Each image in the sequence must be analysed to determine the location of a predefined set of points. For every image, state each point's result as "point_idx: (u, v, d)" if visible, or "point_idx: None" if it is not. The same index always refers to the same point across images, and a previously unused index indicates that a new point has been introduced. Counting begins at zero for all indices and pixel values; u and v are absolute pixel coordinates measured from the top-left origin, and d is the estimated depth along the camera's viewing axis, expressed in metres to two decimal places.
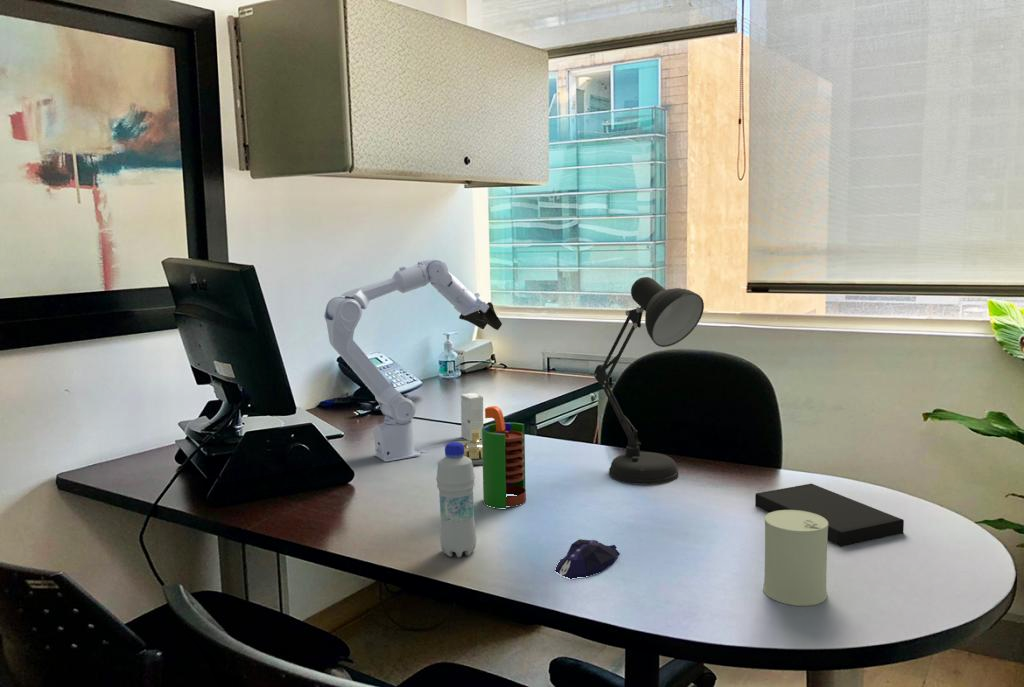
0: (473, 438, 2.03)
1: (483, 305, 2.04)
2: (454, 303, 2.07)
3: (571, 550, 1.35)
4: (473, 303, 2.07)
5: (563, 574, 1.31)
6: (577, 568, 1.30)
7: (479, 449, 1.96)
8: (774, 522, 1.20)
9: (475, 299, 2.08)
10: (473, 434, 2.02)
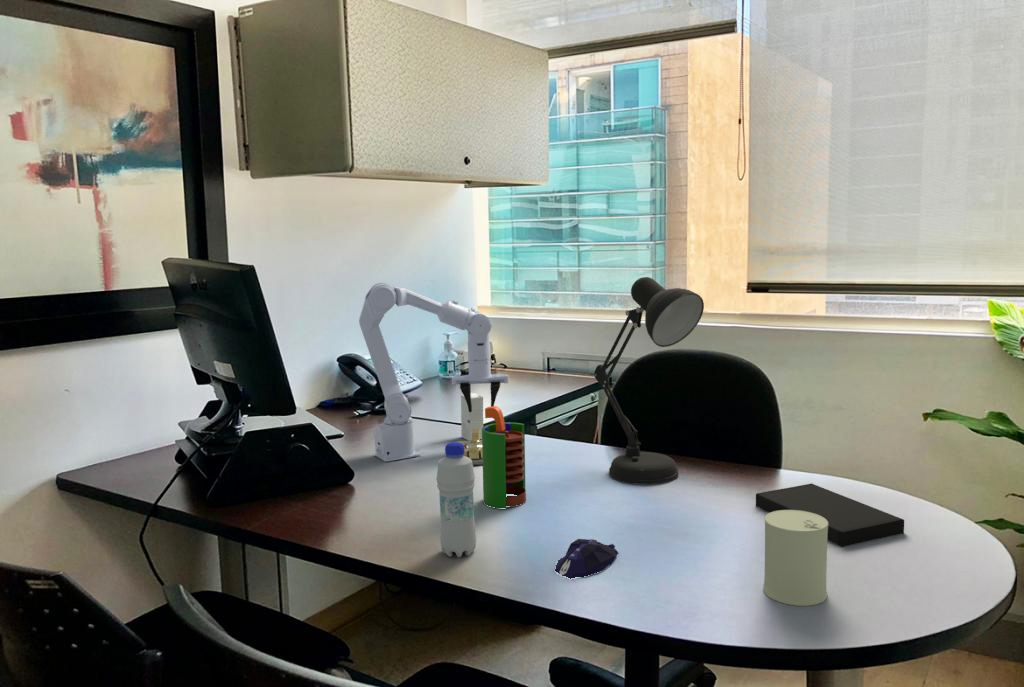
0: (473, 438, 2.03)
1: None
2: (482, 363, 2.04)
3: (570, 550, 1.35)
4: (490, 374, 2.07)
5: (563, 574, 1.31)
6: (577, 568, 1.31)
7: (479, 449, 1.96)
8: (774, 522, 1.20)
9: None
10: (473, 434, 2.02)
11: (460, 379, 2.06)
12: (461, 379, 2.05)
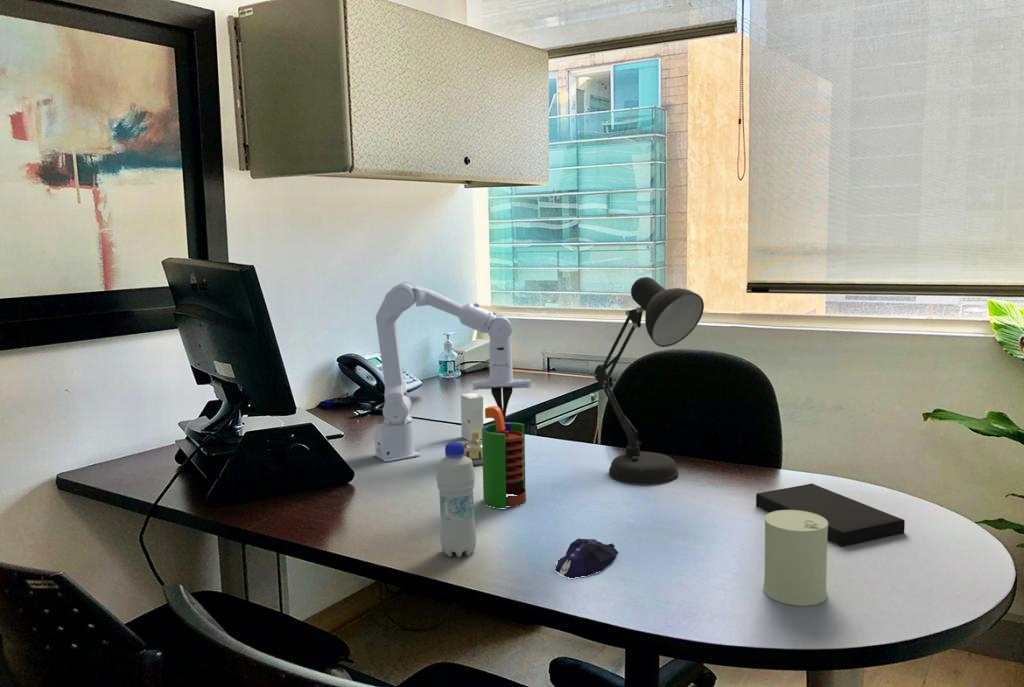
0: (473, 438, 2.03)
1: None
2: (504, 367, 2.00)
3: (570, 549, 1.35)
4: (512, 379, 2.03)
5: (563, 573, 1.31)
6: (578, 567, 1.31)
7: (479, 449, 1.96)
8: (774, 522, 1.20)
9: None
10: (473, 434, 2.02)
11: (481, 384, 2.01)
12: (482, 384, 2.01)
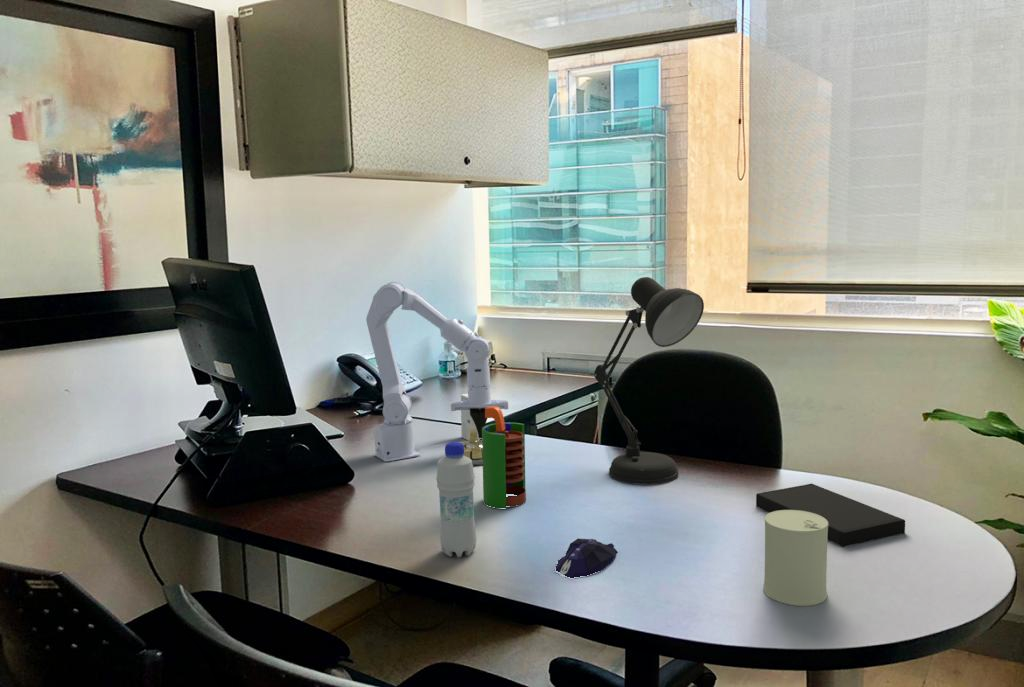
0: (471, 438, 2.02)
1: None
2: (481, 389, 2.00)
3: (570, 549, 1.35)
4: (490, 400, 2.04)
5: (564, 573, 1.31)
6: (578, 567, 1.31)
7: (481, 449, 1.96)
8: (774, 522, 1.20)
9: None
10: (471, 434, 2.02)
11: (459, 405, 2.02)
12: (460, 405, 2.02)
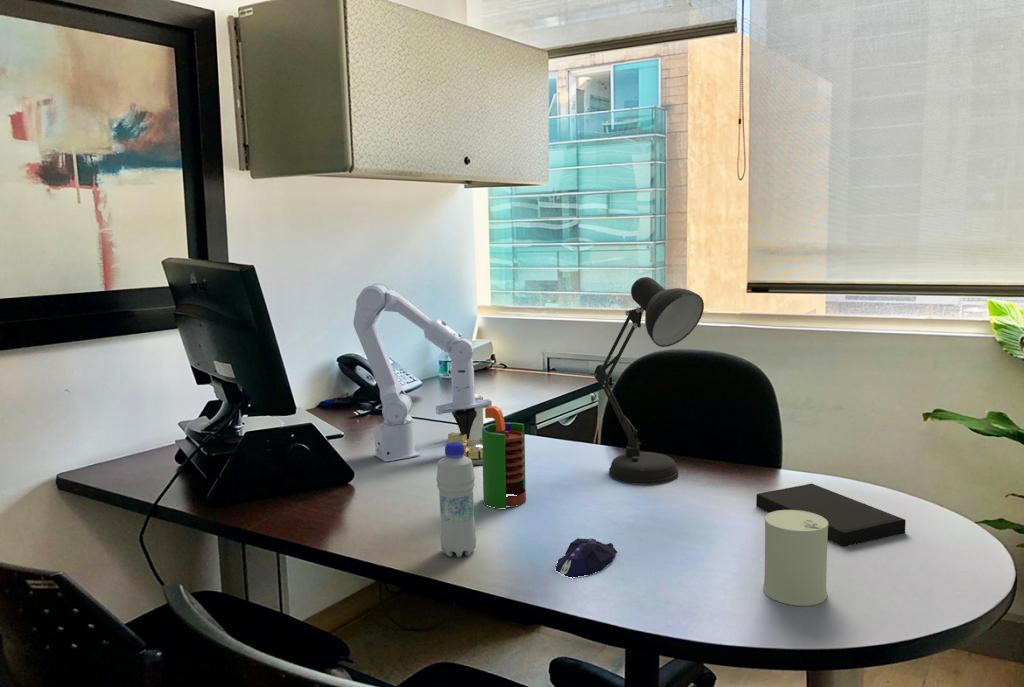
0: (463, 440, 2.01)
1: None
2: (470, 389, 2.00)
3: (570, 549, 1.35)
4: None
5: (564, 573, 1.31)
6: (578, 567, 1.31)
7: None
8: (774, 522, 1.20)
9: None
10: (463, 436, 2.01)
11: (447, 408, 2.00)
12: (448, 408, 2.00)
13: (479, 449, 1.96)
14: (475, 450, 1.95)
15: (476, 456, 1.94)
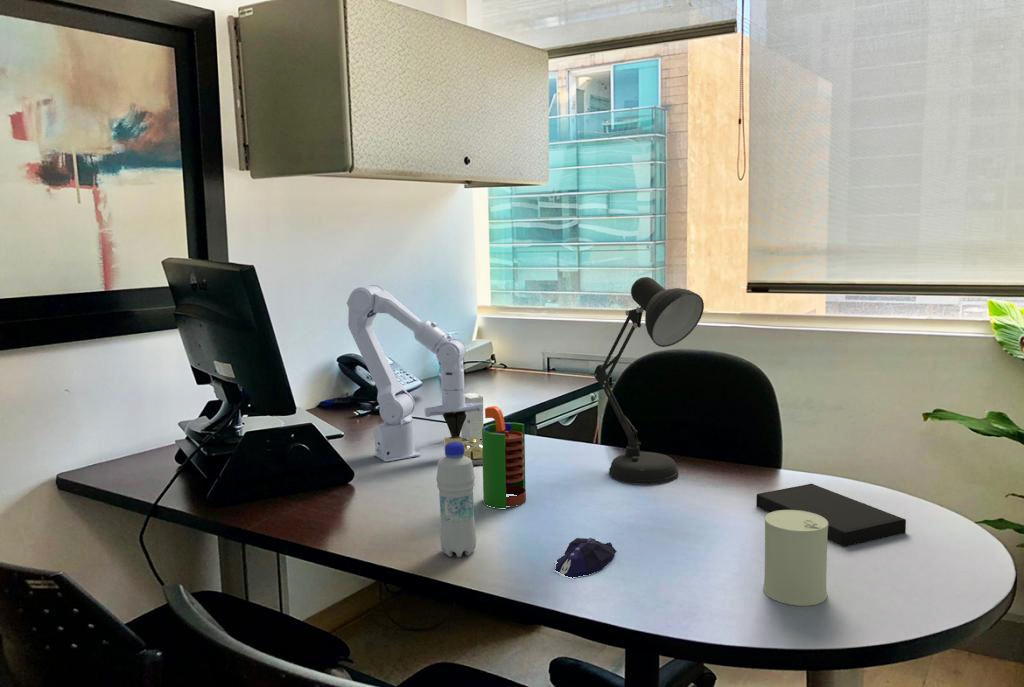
0: (462, 443, 1.99)
1: None
2: (458, 392, 1.97)
3: (570, 549, 1.35)
4: None
5: (564, 573, 1.31)
6: (578, 567, 1.31)
7: None
8: (774, 522, 1.20)
9: None
10: None
11: (435, 410, 1.97)
12: (436, 410, 1.97)
13: None
14: None
15: None
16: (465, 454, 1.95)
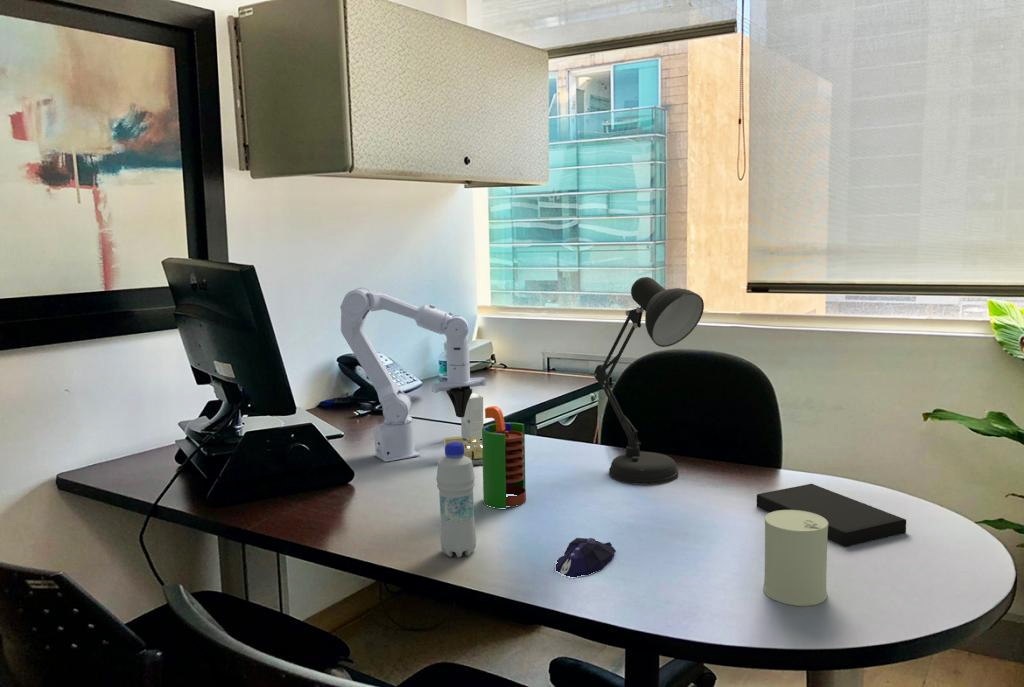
0: (462, 443, 1.98)
1: None
2: (466, 367, 2.00)
3: (570, 549, 1.35)
4: None
5: (564, 573, 1.31)
6: (578, 567, 1.31)
7: None
8: (774, 522, 1.20)
9: None
10: (462, 439, 1.98)
11: (443, 386, 1.99)
12: (444, 385, 1.99)
13: None
14: None
15: None
16: (466, 454, 1.95)
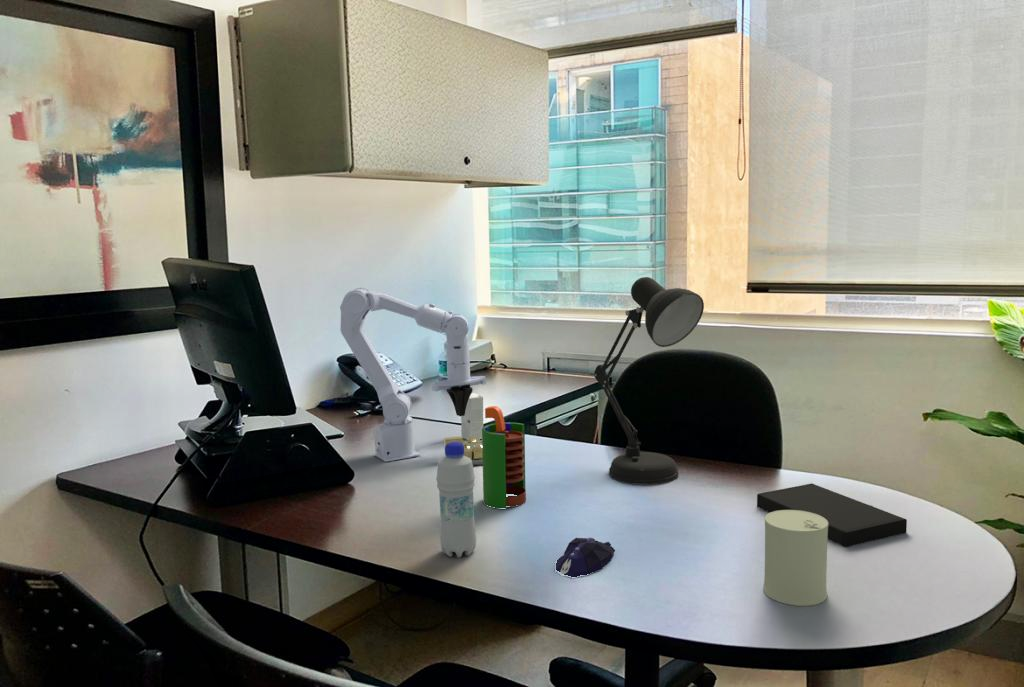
0: (462, 443, 1.98)
1: None
2: (466, 365, 2.00)
3: (569, 549, 1.35)
4: None
5: (564, 573, 1.31)
6: (578, 566, 1.31)
7: None
8: (774, 522, 1.20)
9: None
10: (462, 439, 1.98)
11: (444, 384, 1.99)
12: (445, 384, 1.99)
13: None
14: None
15: None
16: (466, 454, 1.95)
